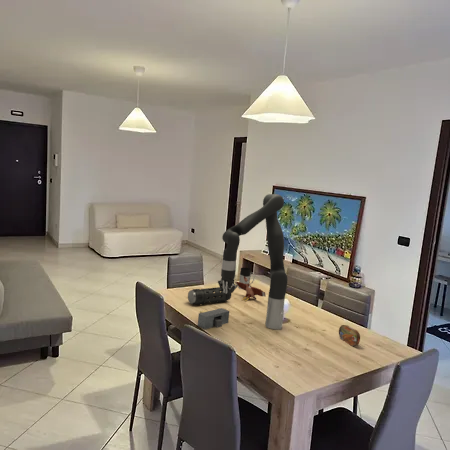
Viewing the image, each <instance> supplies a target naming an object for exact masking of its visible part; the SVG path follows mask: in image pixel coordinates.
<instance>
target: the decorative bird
mask: <svg viewBox="0 0 450 450" xmlns="http://www.w3.org/2000/svg"><path fill="white" fill-rule="evenodd" d="M244 280H245V282H246V284H244V283H241V282H239V281H234V284H235V285H237V288H238V287H239V288H241V289H240V290H242V289H243V290H242V291H245V292H246V293H245V296H244V298H241V299H240V300H241V301H243V302H247V301H248V300H250V298H251V299H254V300H257V298H256V296H259V297H266V295H267V294H266V292H265V291H263V290H262V289H261V288H258V287H255V286H251V284H250V285H249V282H248V280H247V278H246V277H244ZM239 288H238V289H239Z"/></svg>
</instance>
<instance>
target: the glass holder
mask: <svg viewBox="0 0 450 450" xmlns="http://www.w3.org/2000/svg"><path fill="white" fill-rule="evenodd" d="M251 270H252V269H251V268H249V267H240V272H239V281H238V282H241V283H244V284H246V282H245V280H244V277H246V278H247V280H248V282H249V285H250V286H251V285H252V284H253V283H254V281H255V277H256V276H255V273H254V272H252V271H251ZM252 274H253V280H252V282H251V277H252ZM237 288H238V289H239V290H242V291H244V290H243V289H241V288H239V287H238V286H237Z"/></svg>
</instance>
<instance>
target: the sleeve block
mask: <svg viewBox="0 0 450 450" xmlns="http://www.w3.org/2000/svg"><path fill="white" fill-rule="evenodd" d="M197 317H198V318H197V327H199V328H202V329H203V330H208V329H211V328H214V326H213V322H214V317H217V318H219V319H221V320H222V326H223V325H225V324H226V325H227V324H229V321H230V320H229V318H230V310H228V309H225V308H222V307H220V308H216V309H212V310H207V312H203V313H200V312H199V313H198V316H197Z"/></svg>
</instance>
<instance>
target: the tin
mask: <svg viewBox="0 0 450 450" xmlns="http://www.w3.org/2000/svg"><path fill="white" fill-rule="evenodd" d="M338 336H339V338H340V340H341V339H342V341H343V342H344V341H345V343H347V344H348V345H349V346H351V347H352V346H353V347H354V346H356V347H357V346H358V345H359V344H360V341H361V335H360V332H359V331H358V330H357V329H355V328H353V327H352V326H350V325H348V324H341V325H340V326H339V329H338Z"/></svg>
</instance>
